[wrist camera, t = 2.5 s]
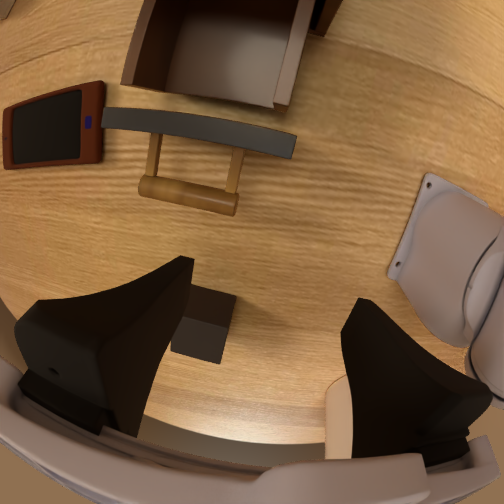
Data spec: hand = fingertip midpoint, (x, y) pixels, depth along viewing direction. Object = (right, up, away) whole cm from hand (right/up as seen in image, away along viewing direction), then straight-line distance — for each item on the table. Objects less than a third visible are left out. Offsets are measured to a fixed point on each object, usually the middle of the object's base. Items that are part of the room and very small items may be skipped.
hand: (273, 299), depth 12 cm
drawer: (-3, +14, +4) cm, 14 cm away
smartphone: (-20, +14, +7) cm, 25 cm away
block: (-5, -3, +14) cm, 15 cm away
